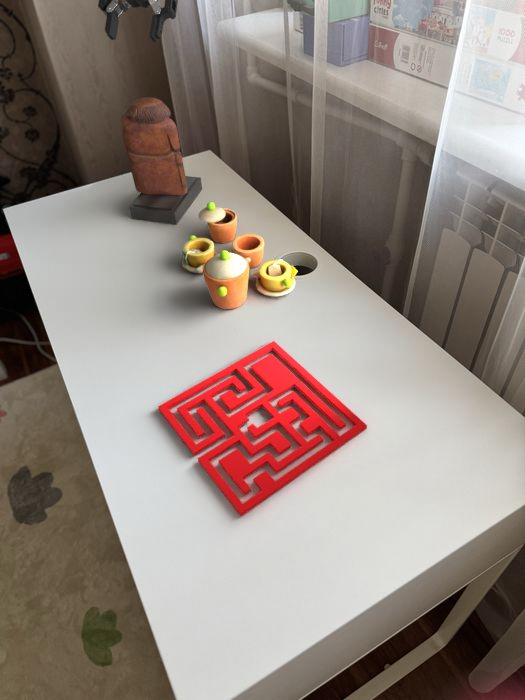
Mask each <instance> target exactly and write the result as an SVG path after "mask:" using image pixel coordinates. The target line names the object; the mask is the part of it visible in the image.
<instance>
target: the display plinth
mask: <svg viewBox="0 0 525 700" xmlns="http://www.w3.org/2000/svg"><path fill="white" fill-rule="evenodd" d="M185 178H186V185H187V193H186V194H184V195H158V194H157V195H153V194H144V193H140V192H139V194H138V195H137V197H135V199H134V200H133V201H132V202H131V204H130V205H129V206H128V211H129V215H130V218H131V219H132V220H137V221H145V222H152V223H161V224H169V225H175V226H176V225H178V223H179V222H180V221H181V219H182V218H183V216H184V215H185V214H186V212H187V211H188V210H189V209H190V207H191V205H192V204H193V203H194V202H195V200H196V199H197V198H198V196H199V194H200V193H201V191H202V190H203V184H202V178H201V177H200V176H190V175H185Z"/></svg>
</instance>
